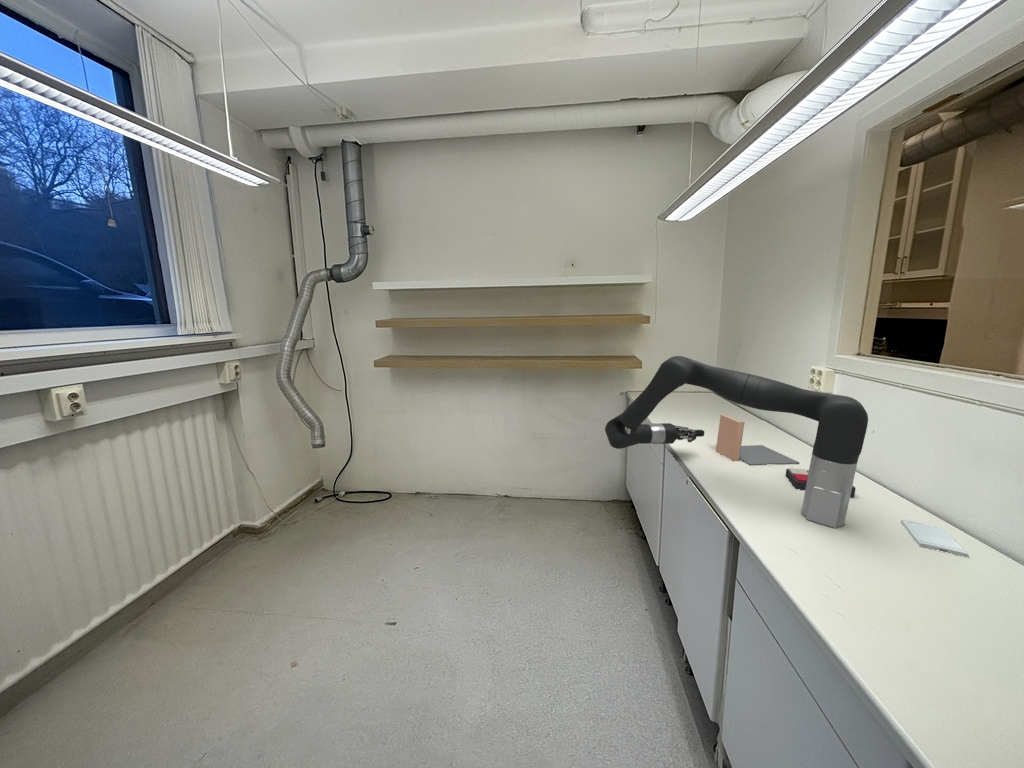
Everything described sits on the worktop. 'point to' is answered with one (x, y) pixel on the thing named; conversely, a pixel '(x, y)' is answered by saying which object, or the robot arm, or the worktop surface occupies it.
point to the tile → (730, 437)
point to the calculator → (803, 479)
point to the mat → (763, 456)
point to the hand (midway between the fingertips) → (702, 433)
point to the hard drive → (933, 537)
